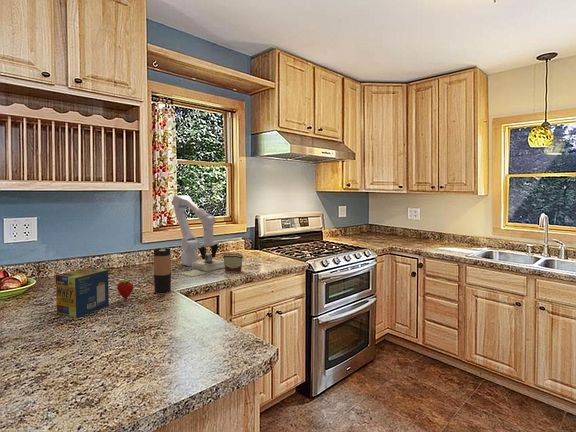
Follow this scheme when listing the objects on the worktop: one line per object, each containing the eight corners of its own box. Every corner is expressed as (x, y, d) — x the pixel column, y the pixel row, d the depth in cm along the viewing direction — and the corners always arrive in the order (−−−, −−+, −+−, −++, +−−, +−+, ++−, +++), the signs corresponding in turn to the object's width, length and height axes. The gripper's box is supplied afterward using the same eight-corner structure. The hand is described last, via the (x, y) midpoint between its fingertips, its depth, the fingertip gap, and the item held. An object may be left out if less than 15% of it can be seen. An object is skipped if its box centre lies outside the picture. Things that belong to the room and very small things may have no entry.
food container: (245, 269, 211) (245, 253, 210) (243, 272, 205) (243, 255, 204) (225, 269, 212) (225, 252, 211) (222, 271, 206) (222, 254, 205)
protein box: (56, 314, 136) (54, 274, 134) (91, 302, 150) (90, 266, 149) (75, 318, 132) (74, 278, 131) (109, 305, 146) (108, 269, 145)
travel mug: (161, 294, 161) (160, 251, 160) (150, 291, 165) (149, 249, 164) (174, 290, 168) (174, 249, 166) (164, 288, 172) (163, 247, 170)
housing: (191, 267, 214) (191, 262, 213) (210, 263, 225) (210, 258, 224) (207, 271, 205) (206, 265, 205) (225, 267, 216) (225, 261, 216)
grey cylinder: (203, 267, 215) (203, 254, 214) (209, 266, 218) (209, 253, 217) (208, 268, 212) (208, 255, 211) (213, 267, 215) (213, 254, 215)
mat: (180, 273, 199) (180, 273, 199) (195, 270, 207) (195, 269, 207) (191, 276, 193) (191, 276, 193) (206, 273, 201) (206, 272, 201)
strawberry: (124, 302, 150) (124, 279, 149) (113, 299, 154) (113, 277, 153) (136, 299, 155) (136, 276, 154) (126, 296, 159) (125, 274, 158)
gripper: (203, 238, 205) (203, 261, 206) (222, 235, 216) (222, 257, 218) (195, 236, 209) (195, 259, 210) (214, 234, 221) (214, 255, 222)
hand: (208, 258), depth 214 cm, fingers open, 7 cm apart
